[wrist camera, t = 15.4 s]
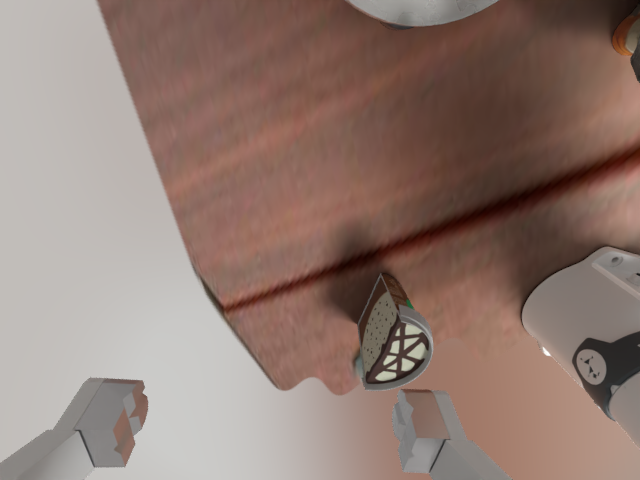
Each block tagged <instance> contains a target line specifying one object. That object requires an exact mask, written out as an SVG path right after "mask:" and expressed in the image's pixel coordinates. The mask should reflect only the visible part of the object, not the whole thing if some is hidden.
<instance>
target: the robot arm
mask: <svg viewBox="0 0 640 480" xmlns="http://www.w3.org/2000/svg"><path fill="white" fill-rule="evenodd" d="M522 322H523V326H524V328H525V329H526V331H527V332H528V333H529V334H530V335H532V336H533V337H534V338H535V339H536V340H537V341H538V345H539V348H540V350H541V351H542V352H543V353H544V354H545V355H547V356H552V357H553V358H554V359H555V360H556V361H557V362H558V363H559V364H560V365H561V367H562V368H563V369H564V370H565V371H566V372H567V373H568V374H569V375H570V376H571V377H572V378H573V379H574V380H575V381H576V382H577V383H578V384H579V385H580V386H581V387H582V388H584V389H585V390H586V392H587V393H588V394H589V395H590V397H591V398H592V399H593V400H594V403H595V404H596V405H597V406H598V408H600V409H601V410H602V411H603V412H604V413H605V414H606V415H607V416H608V417H609V418H610V419H612V420H614V421H616V422H617V423H618V424H619V425H620V427H621V428H622V429H623V430H624V431H625V433H626V434H627V435H628V436H629V437H630V439H631V440H632V441H633V442H634V444H635V445H636V446H637V447H638V449H639V450H640V255H637V254H633V253H630V252H626V251H623V250H619V249H616V248H612V247H603V248H601V249H599V250H597V251H596V252H594V253H593V254H591V255H590V256H589V257H587V258H586V259H585V260H583V261H581V262H579V263H577V264H575V265H572V266H570V267H567V268H565V269H563V270H561V271H559V272H557V273H555V274H553V275H552V276H550V277H549V278H547V279H546V280H545V281H543V282H542V283H541V284H540V285H539V286H538V287H537V288H536V289H535V290H534V291H533V292H532V294H531V295H530V296H529V298H528V299H527V301H526V303H525V305H524V308H523V312H522ZM144 388H145V386H144V383H143V381H142V380H125V379H108V378H89V379H88V380H87V381H85V382H84V383H83V385H82V386H81V388H80V389H79V391H78V392H77V394H76V396H75V397H74V399H73V400H72V402H71V403H70V405H69V406H68V408H67V409H66V411H65V412H64V414H63V415H62V417H61V418H60V420H59V421H58V423H57V424H56V426H55V427H54V429H53V430H47V431H45V432H44V433H42V434H41V435H40V436H38V437H36V438H35V439H34V440H32V441H31V442H30V443H28V444H27V445H25V446H24V447H22V448H21V449H20V450H18V451H17V452H15V453H14V454H12V455H11V456H10V457H8V458H7V459H5V460H4V461H2V462H1V463H0V480H84V479H85V478H86V477H87V476H88V475H89V474H90V473H91V472H92V471H93V470H94V467H125V466H126V464H127V462H128V459H129V457H130V455H131V453H132V450H133V448H134V446H135V441H134V437H133V436H134V435H135V434H136V433H137V432H138V431H140V430H141V429H142V427H143V424H144V422H145V419H146V416H147V411H148V399H147V396H146V395H144V394H143V390H144ZM397 397H398V401H399V402H398V403H396V404H395V405H394V408H393V412H392V422H393V430H394V435H395V436H396V437H397V438H398V440H399V441H400V445H399V448H398V452H399V456H400V461H401V465H402V470H403V472H416V473H430V474H429V475H430V476H431V478H432V479H433V480H513V479H511V478H510V477H509V476H508V475H507V474H506V473H505V472H504V471H503V470H502V469H501V468H500V467H499V466H498V465H497V464H496V463H495V462H494V461H493V460H492V459H491V458H490V457H489V456H488V455H487V454H486V453H485V452H484V451H483V450H482V449H481V448H480V447H478V446H477V445H476V444H475V443H474V442H473V441H471V440H467V437H466V435H465V433H464V430H463V428H462V425H461V423H460V420H459V418H458V415H457V413H456V410H455V408H454V406H453V403H452V401H451V398H450V396H449V394H448V393H447V392H446V391H439V390H414V389H412V390H411V389H401V390H400V391H399V392H398V395H397Z"/></svg>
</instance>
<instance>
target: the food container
mask: <svg viewBox="0 0 640 480" xmlns="http://www.w3.org/2000/svg"><path fill="white" fill-rule="evenodd" d="M357 326H358V334H359V343H360V351H361V359H362V368H363V376H364V378H362V382H363V385H364V387H365V390H369V391H382V390H389V389H394V388H397V387H400V386H403V385H405V384H408V383H409V382H411V381H413V380H414V379H416V378H417V377H418V376H420V375H421V374H422V373H423V372H424V370H425V369H426V368H427V367H428V365H429V363H430V361H431V358H432V352H433V339H432V332H431V328H430V326H429V324H428V322H427V321H426V319H425V318H424V317H423V316H422V315H421V314H420V313H418V312H417V311H415V310H414V308H413V306H412V304H411V303H410V301H409V299H408V297H407V295H406V293H405V292H404V290H403V288H402V286H401V285H400V283H399V282H398V281H397V280H396V279H394V278H393V277H391V276H389V275H387V274H384V273H380V275H379V277H378V279H377V282H376V284H375V286H374V288H373V291H372V293H371V295H370V297H369V300H368V302H367V304H366V306H365V309H364V311H363V313H362V315H361V318H360V320H359V322H358V324H357Z"/></svg>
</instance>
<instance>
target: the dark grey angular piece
mask: <svg viewBox="0 0 640 480" xmlns="http://www.w3.org/2000/svg"><path fill="white" fill-rule="evenodd" d="M612 41H613V46H614V49H615V50H616V51H617V52H618V53H620V54H621V55H632V57H631V59H630V60H631V65H632V67H633V70H634V72H635V75H636V77H637V81H639V83H640V2H639V4H638V5H637V7H636V8H635V9H634V11H633V12H632V13H631V14H630V15H629V16H628V17H626V18H625V19H624V20H623V21H622V22H621V23H620V25H618V27H617V29H616V30H615V32H614V35H613V38H612Z"/></svg>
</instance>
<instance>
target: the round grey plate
mask: <svg viewBox="0 0 640 480" xmlns="http://www.w3.org/2000/svg"><path fill="white" fill-rule="evenodd" d="M344 1H346V2H347V3H348V4H350V5H351V6H352V7H353V8H355V9H357V10H359V11H360V12H362V13H364V14H366V15H367V16H369V17H372V18H374V19H377V20H379V21H380V23H381V24H382V25H383V26H385V27H386V28H388V29H391V30H403V29H409V28H413V27H422V26H431V25H439V24H445V23H449V22H452V21H456V20H460V19H463V18H465V17H468V16H470V15H472V14H475V13H477V12H480V11H481V10H483V9H485V8H487V7H488V6H490V5H492V4H494V3H495V2H497V1H499V0H344Z"/></svg>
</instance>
